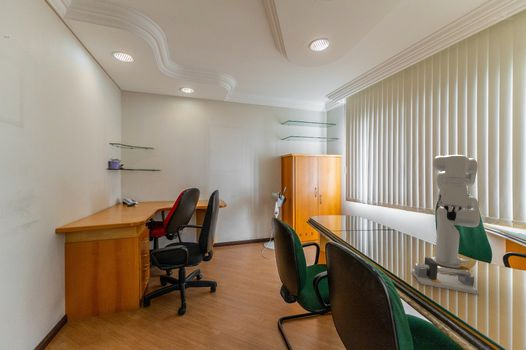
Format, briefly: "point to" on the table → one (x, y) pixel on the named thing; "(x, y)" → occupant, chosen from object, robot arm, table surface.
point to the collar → (431, 268)
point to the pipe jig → (446, 278)
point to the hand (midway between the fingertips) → (451, 220)
